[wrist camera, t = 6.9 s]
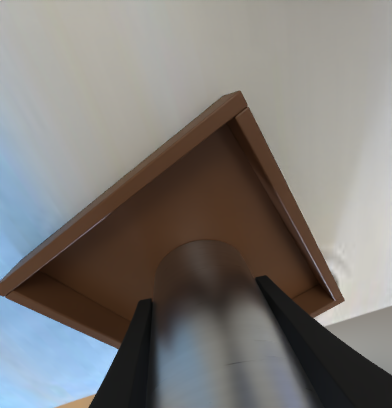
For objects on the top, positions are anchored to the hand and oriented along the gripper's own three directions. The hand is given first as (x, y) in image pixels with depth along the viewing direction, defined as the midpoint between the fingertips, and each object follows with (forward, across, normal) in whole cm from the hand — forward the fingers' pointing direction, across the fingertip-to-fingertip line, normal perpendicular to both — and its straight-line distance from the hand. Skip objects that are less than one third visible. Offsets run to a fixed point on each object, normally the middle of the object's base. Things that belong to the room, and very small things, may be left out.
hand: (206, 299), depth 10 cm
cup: (+2, 0, 0) cm, 2 cm away
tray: (+2, 0, 0) cm, 2 cm away
